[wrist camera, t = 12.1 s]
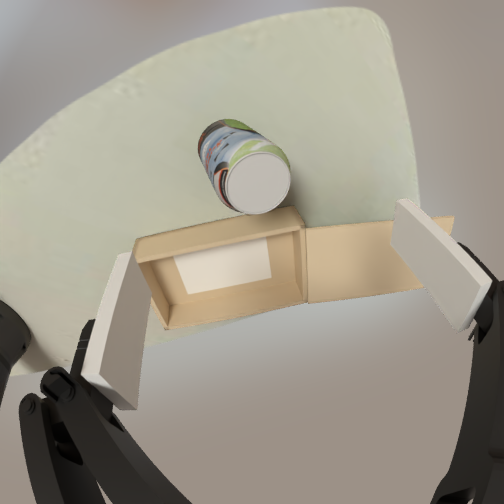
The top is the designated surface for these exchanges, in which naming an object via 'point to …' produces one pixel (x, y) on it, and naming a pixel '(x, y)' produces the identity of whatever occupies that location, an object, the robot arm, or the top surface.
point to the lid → (358, 261)
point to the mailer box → (225, 268)
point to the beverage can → (244, 167)
